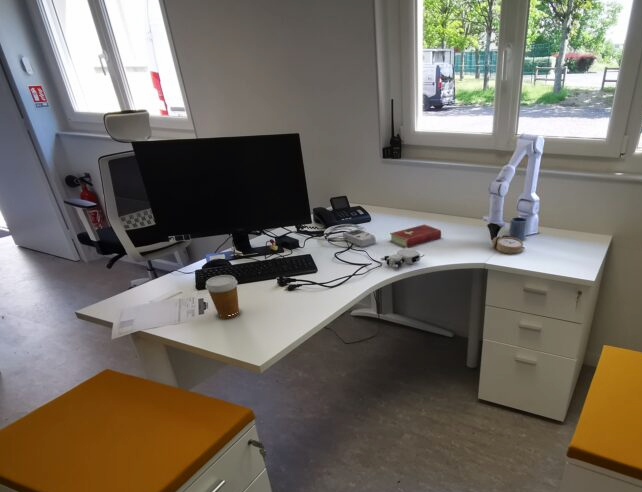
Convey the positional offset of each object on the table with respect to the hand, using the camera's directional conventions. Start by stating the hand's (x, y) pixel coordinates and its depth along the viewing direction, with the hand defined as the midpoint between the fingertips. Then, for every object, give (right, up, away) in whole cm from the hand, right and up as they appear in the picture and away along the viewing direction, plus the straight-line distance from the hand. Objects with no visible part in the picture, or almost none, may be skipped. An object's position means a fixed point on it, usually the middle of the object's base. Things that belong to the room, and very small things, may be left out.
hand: (493, 239), depth 206 cm
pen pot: (+12, +2, +6) cm, 14 cm away
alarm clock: (+5, -5, -5) cm, 9 cm away
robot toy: (-41, -15, -20) cm, 48 cm away
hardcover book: (-35, +1, +5) cm, 36 cm away
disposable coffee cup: (-97, -39, -57) cm, 119 cm away
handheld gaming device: (-61, 0, +3) cm, 61 cm away
